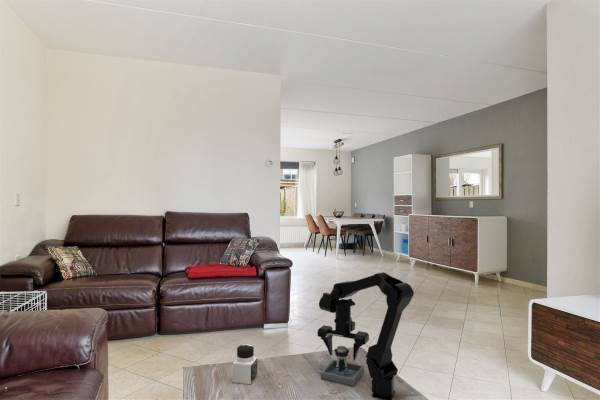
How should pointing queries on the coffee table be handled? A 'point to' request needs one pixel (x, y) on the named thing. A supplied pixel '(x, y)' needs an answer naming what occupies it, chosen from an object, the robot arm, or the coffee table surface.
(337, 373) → the push button
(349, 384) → the charcoal tray
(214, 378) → the coffee table surface
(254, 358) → the medicine bottle
